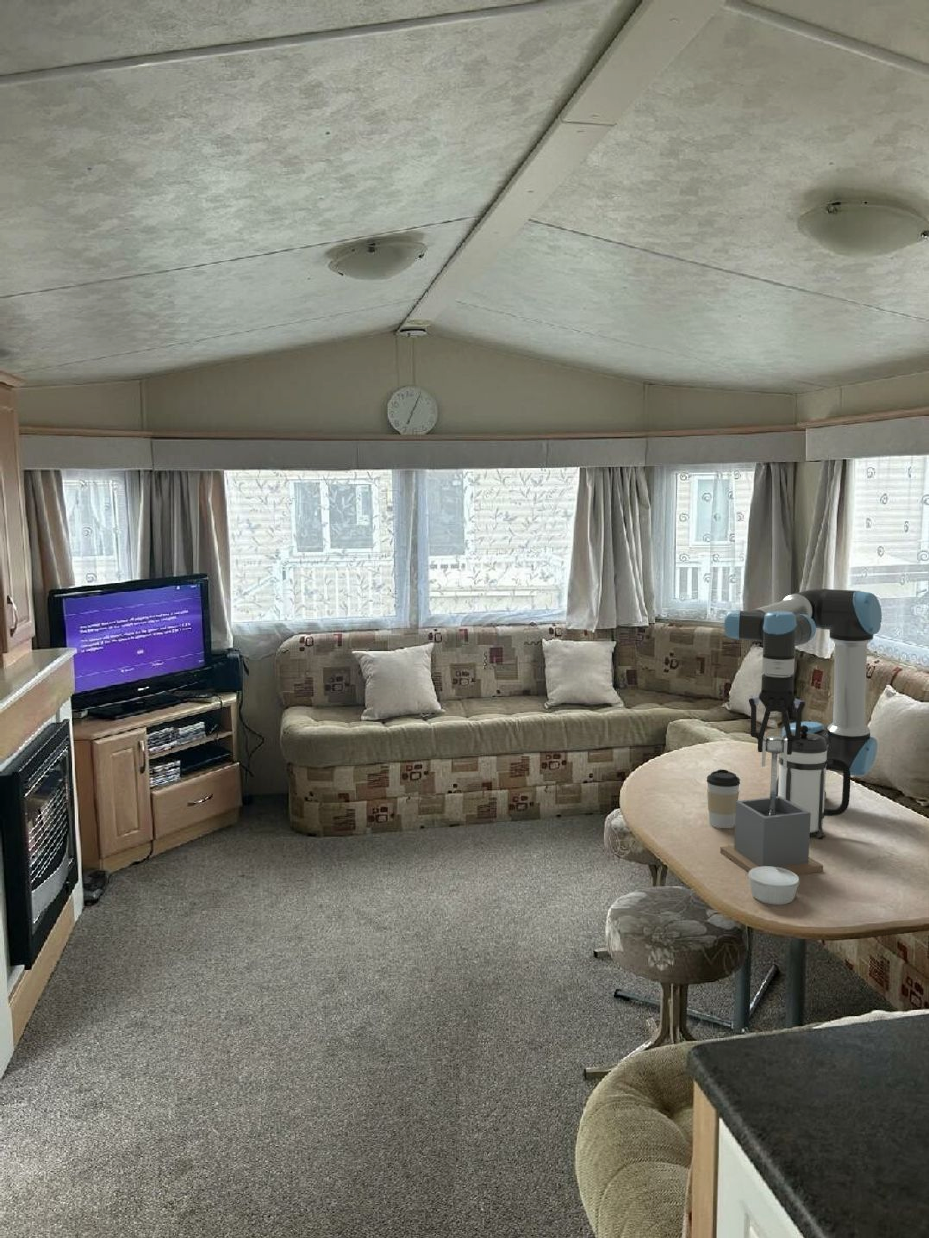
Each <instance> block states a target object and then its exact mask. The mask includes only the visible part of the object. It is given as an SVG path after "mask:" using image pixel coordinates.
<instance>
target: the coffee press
mask: <svg viewBox="0 0 929 1238" xmlns="http://www.w3.org/2000/svg"><path fill="white" fill-rule="evenodd" d="M808 730H809V729H808V727H807V726H805V725H803V726H801V734H800V740H799V741H794V742H793V743H792V754H791V755H788V754H787V766H786V768H783V759H784V753H780V754H778V763H779V764H778V765H779V767H778V770H779V771H778V776H779V787H778V796H781V797H782V798H784V799H786V800H788V801H790V802H792V803H793V804H795V805H797V806H799V807H801V808H803V809H804V810H806V811H808V812H810V813H811V816H810V834H811V833H814V834H815V835H816V837H817V838H818V839H819V840H821V839H822V840H823V839H825V838H826V834H825V832H824V830H823V826H824V819H825V817H836V816H839V815H842V814H844V813H845V811H847V810H848V807H849V804H850V796H851V794H850V793H851V775H850V770H849V768H848V766H847V765H846V763H845V762H844V761H842V760H840V759H837V758H833V759H830V758H826V757H827V751H828V748H829V746H828V744H827V743H826V741H825V739H824V738H823V737H821V736H819V735H817V734H813V733H808ZM792 735H795V732H792ZM781 737H782V736H781ZM782 738H784V739H785V740H787V736H786V735H784V736H783V737H782ZM827 764H833V765H837V766H839V767H841V769H842V771H843V773H842V796H841V802H840V805H839V806H838V807H836V808H825V802H824V799H825V791H826V774H827V770H826V767H827Z"/></svg>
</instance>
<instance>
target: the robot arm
mask: <svg viewBox="0 0 929 1238" xmlns="http://www.w3.org/2000/svg"><path fill="white" fill-rule="evenodd" d="M882 618H883V617H882V607H881V603H880V601H879V599H878V597H877V596H876V595H875V594H874V593H872V592H867V591H861V590H852V589H850V590H848V589H829V588H816V589H814V588H813V589H808V590H804V591H800V592H795V593H792V594H789V595H786V596H785V597H784V598H783V599H782V600H781V601H778V602H774V603H771V604H768V605H765V606H761V607H758V608H755V609H751V610H741V609H738V610H734V609H733V610H729V611H728V612H727V613H726V615H725V616H724V620H723V630H724V634H725V635H726V637H728V638H730V639H734V640H738V641H740V640H744V641H752V642H753V641H755V642H762V644H763V645H762V659H761V660H762V668H761V672H762V673H763V674H762V675H761V688H760V689H761V690H760V692H759V695H757V696H750V697H749V698H748V703H749V707H750V736H751V738H755V739H757V753H761V755H762V756H761V767H766V754H767V752H766V737H764V736H765V733H766V729H767V726H768V722H769V718H770V717H771V713H772V712H777V713H781V717H782V721H783V725H784V726H783V727H782V730H781V731H782V732H781V737H783V736H784V735H786V736H787V740H784V759H783V768H786V766H787V754H788V755H791V754H792V743H793V742H794V741H799V740H800V734H801V726H803V725H805V726H807V727H808V729H809V730H808V733H813V734H817V735H819V736H821V737H823V738H824V739H825V741H826V743H827V744H828V746H829V748H828V751H827V757H826V758H830V759H833V758H837V759H840V760H842V761H844V762H845V763H846V765H847V766H848V768H849V770H850V776H856V777H858V776H859V777H864V776H866V775H868V773H870V771H871V769H872V768H873V766H874V764H875V763H874V762H875V760H876V757H877V753H878V740H877V739H876V738H875V737H873V736H871V729H870V727H868V725H866V702H867V701H866V699H867V698H866V697H867V692H866V691H867V662H868V660H867V659H868V644H869V643H870V642H871V641H873V639H874V635H876V634H878V633H879V632H880V630H881V624H882V620H883V619H882ZM817 629H821V630H828V631H829V639H830V640H831V641H833V643H834V669H833V670H834V672H833V676H834V677H833V711H832V712H833V715H832V716H833V717H832V723H830V724H829V725H828V726H827V729H824V728H825V727H824V725H823V724H822V723H820V722H817V721H802V716H803V715H802V714H803V710H804V708H805V706H806V701H805V700H804V699H798V698H797V697H796V696H795V694H794V681H795V678H794V676H793V675H794V673H795V662H796V661H795V657H796V655H795V654H796V647H797V646H802V645H805V644H807V643H808V642H809V641H811V640H813V638H814V637H815V635H816V634H817ZM759 701H760V702H761V703H762V705H763V706H764V707H765V709H764V715H763V718H762V722H761V724H760V729H759V731H757V708H758V707H757V706H758V705H759V703H760V702H759ZM792 704H794V708H796V717H795V718H796V719H795V722H792V723H791V722H790V719H789V717H790V716H789V712H788V709H789V708H790V706H792ZM792 732H795V735H792ZM826 771H828V772H836V773H841V774H843V771H842V769H841V767H839V766H837V765H833V764H827V767H826ZM777 776H778V777H777V781H776V797H778V787H779V775H777ZM826 801H827V792H826V790H825V799H824V803H826Z"/></svg>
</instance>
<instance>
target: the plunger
mask: <svg viewBox="0 0 929 1238" xmlns="http://www.w3.org/2000/svg"><path fill="white" fill-rule="evenodd" d="M765 738H766V753H768V754H769V753H770V754H771V763H770V765H771V766H770V783H769V784H770V789H769V797H770V810H769V811H765V812H759V813H761V814H762V815H764V816H774V815H783V814H784V813H782V812H780V811H779V810H775V806H776V782H777V779H778V777H777V776H778V757H779V754H780V753H784V740H785V739H784V738H782V736H777V735H776V736H774V735H772V736H767V737H765Z"/></svg>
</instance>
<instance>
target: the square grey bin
mask: <svg viewBox="0 0 929 1238" xmlns="http://www.w3.org/2000/svg"><path fill="white" fill-rule="evenodd" d="M769 810H770V796H769V797H763V798H761V797H760V798H753V799H744V800H738V801H736V810H735V826H734V843H733V845H727V846H720V851H719V853H720V854H722V855H723V856H724V857H726V858H728V860H730V859H731V860H730V861H731V862H733V863H734V864H736V865H737V866H738V867H740V868H741V869H743V870H744V871H746V872H747V873H749V871H750V870H751V869H753V868H756V867H762V866H771V867H778V868H783V869H786V870H789V871H791V872H793V873H794V874H796V875H797V876H799V875H805V874H813V873H820V872H821V873H822V872H824V865H823V864H821V863H820V862H819V861H817V860H816V859H814V858H812V857H810V838H811V837H810V834H811V833H810V816H811V813H810V812H808V811H806V810H804V809H803V808H801V807H799V806H797V805H795V804H793V803H792V802H790V801H788V800H786V799H784V798H782V797H781V796H778V797H776V806H775V810H779V811H780V812H782V813H784V814H783V815H774V816H764V815H762V814H761V813H759V812H765V811H769Z"/></svg>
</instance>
